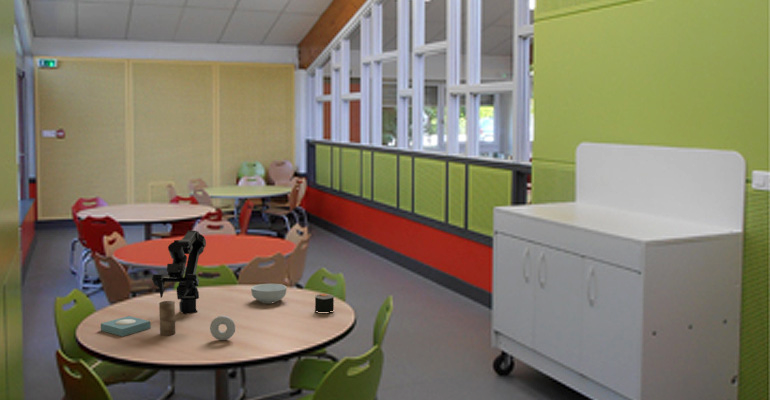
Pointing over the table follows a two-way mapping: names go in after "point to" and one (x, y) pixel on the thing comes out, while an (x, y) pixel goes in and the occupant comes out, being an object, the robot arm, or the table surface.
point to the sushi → (324, 302)
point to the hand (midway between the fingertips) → (172, 297)
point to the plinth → (125, 326)
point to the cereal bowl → (268, 292)
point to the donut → (226, 321)
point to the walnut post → (167, 318)
